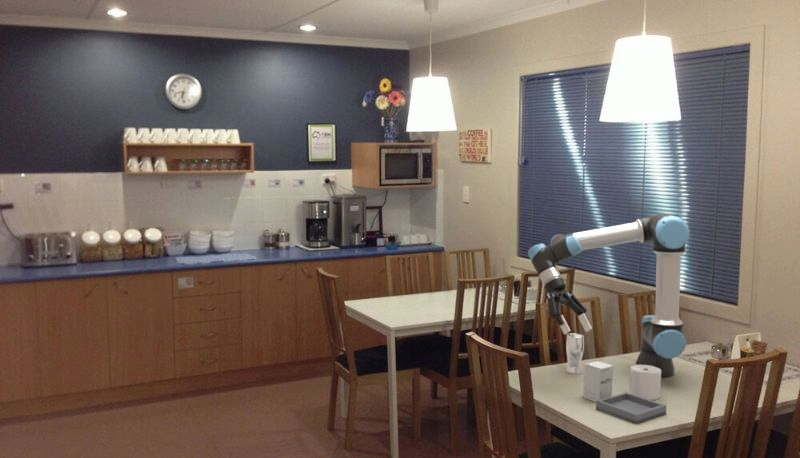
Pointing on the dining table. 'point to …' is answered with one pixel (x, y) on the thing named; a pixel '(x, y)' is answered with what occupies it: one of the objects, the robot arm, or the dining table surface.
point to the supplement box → (597, 381)
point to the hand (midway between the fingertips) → (578, 331)
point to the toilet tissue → (645, 381)
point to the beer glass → (574, 352)
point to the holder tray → (631, 407)
